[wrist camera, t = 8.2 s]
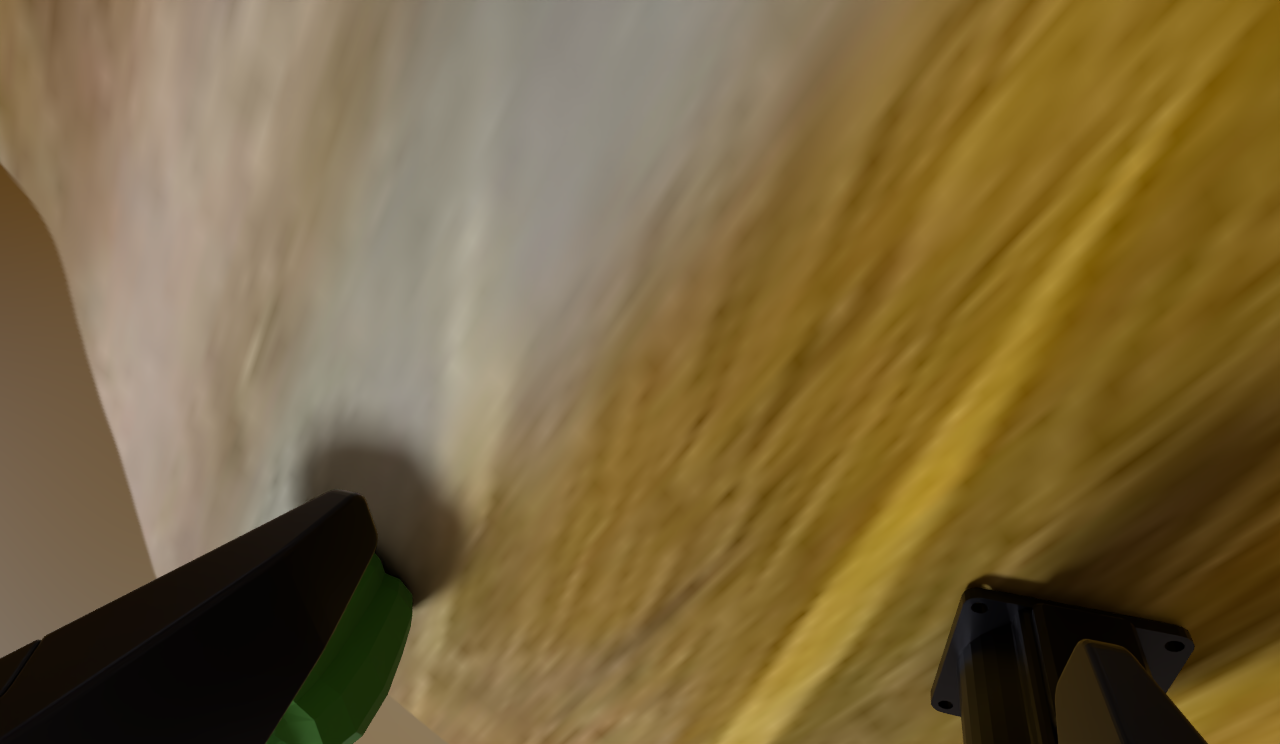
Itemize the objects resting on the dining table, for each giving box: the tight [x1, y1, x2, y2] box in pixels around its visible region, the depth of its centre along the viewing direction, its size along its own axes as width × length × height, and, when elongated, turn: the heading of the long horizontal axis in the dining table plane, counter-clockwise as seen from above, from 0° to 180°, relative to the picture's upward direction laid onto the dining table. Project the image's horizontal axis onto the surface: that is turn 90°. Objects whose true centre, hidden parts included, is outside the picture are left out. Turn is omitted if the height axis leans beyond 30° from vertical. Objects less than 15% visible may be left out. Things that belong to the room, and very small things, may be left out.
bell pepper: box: [266, 553, 412, 744], centre depth 30 cm, size 8×8×10 cm
